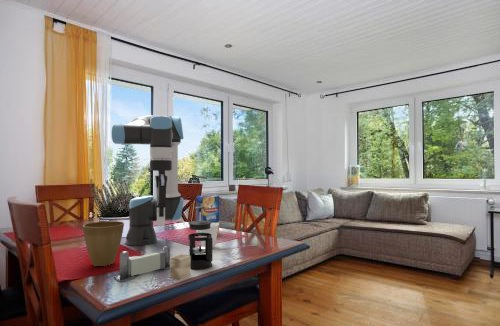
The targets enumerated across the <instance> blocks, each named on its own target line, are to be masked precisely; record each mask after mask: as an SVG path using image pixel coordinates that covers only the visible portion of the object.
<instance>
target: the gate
mask: <svg viewBox="0 0 500 326" xmlns="http://www.w3.org/2000/svg"><path fill="white" fill-rule="evenodd" d="M137 256H138V255H137ZM132 257H133V256H132ZM162 268H165V252H163V251H162V250H159V251H156V252H151V253H148V254H144V255H139V256H138V257H133V258H129V275H131V276H137V275H140V274H144V273H148V272H151V271H155V270H156V271H157V270H161V269H162ZM162 270H163V269H162Z"/></svg>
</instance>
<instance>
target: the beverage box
mask: <svg viewBox="0 0 500 326" xmlns="http://www.w3.org/2000/svg"><path fill="white" fill-rule="evenodd" d="M195 199H196V200H195V202H196V207H205V208H203V209H201V221H210V222H212V223H218V224H219V225H218V231H217V236H219V235H220V196H219V195H213V194H210V195H197V196H196V198H195ZM195 209H196V208H195ZM195 218H196V220H195V221H200V212H199V209H196V216H195ZM195 231H196V232H195V233H200V230H195Z"/></svg>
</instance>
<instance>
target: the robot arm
mask: <svg viewBox="0 0 500 326" xmlns="http://www.w3.org/2000/svg"><path fill="white" fill-rule="evenodd" d="M183 131H184V130H183V123H182V119H181V117H180V116H178V115H177V116H173V115H150V114H149V115H144V116H143V115H142V116H140V117H135V118H133V120H131V122H129V123H127V124H122V123H119V124H113V126H111V141H112V143H113V144H115V145H149V159H151V160H150V161H149V170H150V171H154V172H155V171H156V175H154V181H155V190H156V192H155V193H156V194H155V196H156V197H154V196H153V195H144V196H140V197H139V196H138V197H134V198H132V199H131V198H130V200H129V207H128V210H129V213H128V214H129V216H128V217H129V221H128V222H129V227H128V232H127V235H126V236H125V244H126V245H129V246H146V245H152V244H154V243H157V242H158V235H157V233H156V230H155V227H154V222H156V227H164V226H166V221H168V222H169V221H171V222H172V221H179V220H181V218H182V212H183V205H184V197H181V195H182V194H181V193H180V192H179V187H178V185H179V183H178V181H179V180H178V179H179V178H178V177H179V174H178V173H179V172H178V171H179V170H178V169H179V166H178V165H179V159H178V156H179V154H178V153H179V152H178V150H179V149H178V148H179V147H178V146H179V145H180V144H181V143H182V142H181V140H184V132H183Z"/></svg>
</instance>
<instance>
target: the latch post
mask: <svg viewBox="0 0 500 326" xmlns="http://www.w3.org/2000/svg"><path fill="white" fill-rule="evenodd" d="M163 252H165V268H162V270H164V271H165V270H170V257H171V246H170V245H164V246H163Z"/></svg>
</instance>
